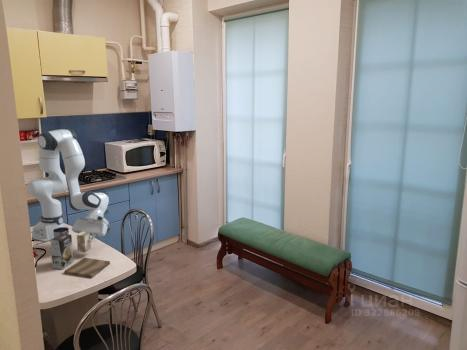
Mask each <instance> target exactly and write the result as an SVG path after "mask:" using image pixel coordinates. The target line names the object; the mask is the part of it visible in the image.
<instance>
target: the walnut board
mask: <svg viewBox="0 0 467 350" xmlns="http://www.w3.org/2000/svg"><path fill="white" fill-rule="evenodd" d="M109 265H111V261H109V260H103V259H97V258H89V257H83V258H81V259H79V261H77V262H75V263H74V264H72V265H71V266H69V267H68V268H67V269H65V270H64V274H65V275H70V276H71V275H72V276H77V277H83V278H90V279H92V278H94V277H95V276H97V275H98V274H99V273H100V272H101V271H103V270H104V269H105V268H107V267H108V266H109Z"/></svg>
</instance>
